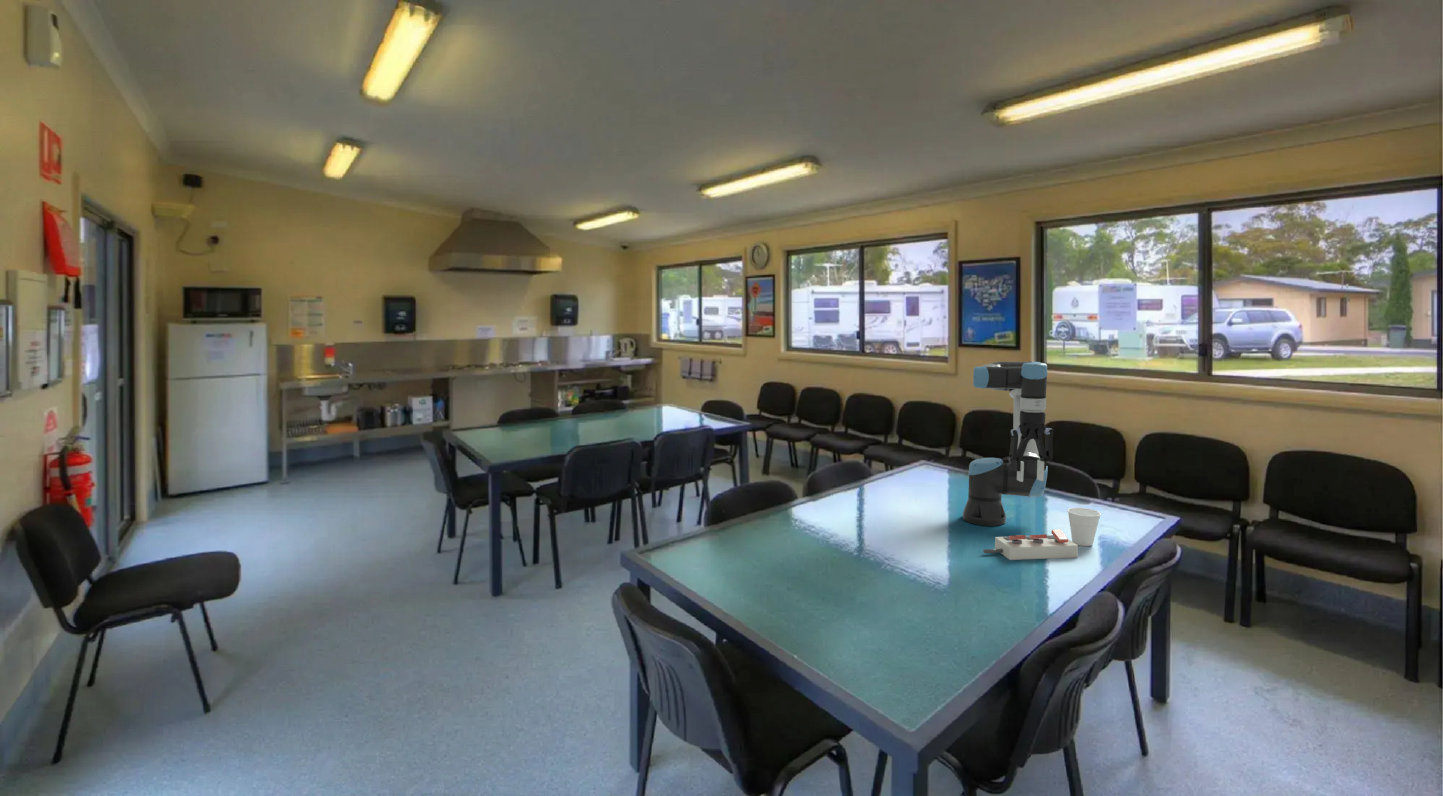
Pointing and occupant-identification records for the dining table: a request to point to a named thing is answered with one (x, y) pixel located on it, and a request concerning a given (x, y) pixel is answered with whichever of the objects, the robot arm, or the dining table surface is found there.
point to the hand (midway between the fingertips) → (1030, 480)
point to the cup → (1083, 525)
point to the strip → (1034, 548)
